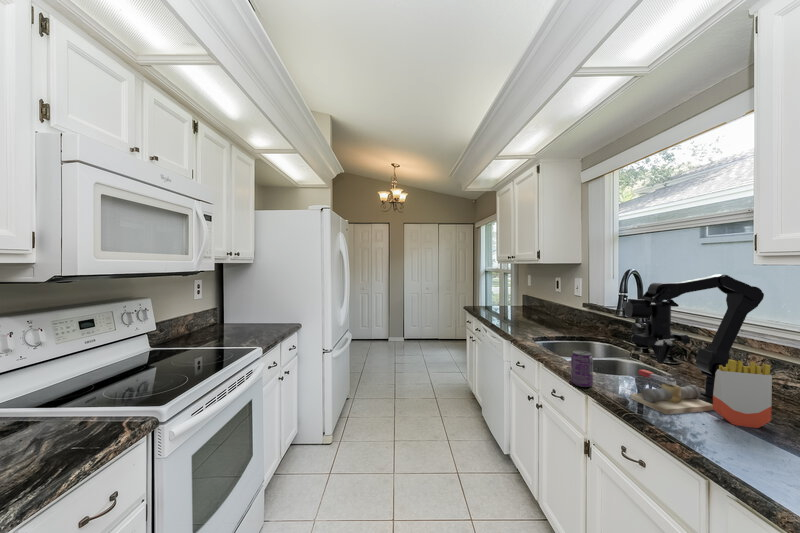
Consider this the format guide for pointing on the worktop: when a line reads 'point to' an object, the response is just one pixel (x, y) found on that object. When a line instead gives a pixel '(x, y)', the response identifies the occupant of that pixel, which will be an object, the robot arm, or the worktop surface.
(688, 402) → the valve board
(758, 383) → the french fries container
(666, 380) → the valve lever
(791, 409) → the worktop surface
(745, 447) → the worktop surface
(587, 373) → the beverage can
